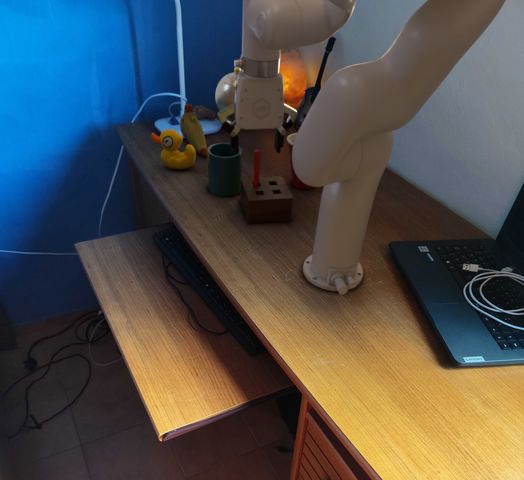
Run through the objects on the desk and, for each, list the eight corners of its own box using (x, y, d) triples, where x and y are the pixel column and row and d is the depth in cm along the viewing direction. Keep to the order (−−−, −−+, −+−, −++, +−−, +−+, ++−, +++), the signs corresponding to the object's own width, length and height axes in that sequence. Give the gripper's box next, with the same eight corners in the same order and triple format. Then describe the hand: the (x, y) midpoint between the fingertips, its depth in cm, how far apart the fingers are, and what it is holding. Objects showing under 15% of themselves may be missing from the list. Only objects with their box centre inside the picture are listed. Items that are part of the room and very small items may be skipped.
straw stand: (290, 220, 111) (293, 197, 107) (248, 223, 109) (248, 200, 105) (280, 198, 118) (282, 176, 114) (240, 201, 116) (240, 178, 112)
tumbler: (244, 195, 118) (244, 156, 111) (211, 197, 117) (209, 158, 109) (238, 179, 124) (238, 142, 116) (206, 181, 122) (205, 143, 115)
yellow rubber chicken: (215, 159, 131) (214, 122, 124) (196, 161, 129) (194, 124, 122) (192, 130, 143) (190, 95, 136) (175, 133, 142) (172, 97, 134)
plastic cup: (323, 176, 127) (330, 131, 118) (323, 195, 120) (330, 149, 111) (284, 172, 128) (288, 127, 119) (281, 191, 120) (285, 145, 111)
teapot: (264, 131, 145) (267, 73, 133) (223, 135, 142) (222, 75, 130) (247, 109, 157) (248, 54, 145) (208, 112, 153) (206, 56, 141)
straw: (258, 208, 114) (260, 151, 104) (253, 208, 114) (255, 152, 104) (257, 205, 115) (259, 149, 105) (252, 205, 115) (254, 149, 105)
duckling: (152, 170, 125) (147, 132, 117) (157, 161, 128) (152, 124, 121) (194, 174, 125) (192, 136, 117) (198, 164, 128) (195, 127, 121)
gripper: (220, 73, 88) (220, 160, 101) (307, 72, 91) (297, 157, 104) (214, 60, 93) (216, 145, 106) (297, 59, 96) (289, 142, 109)
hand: (256, 151), depth 105 cm, fingers open, 9 cm apart
